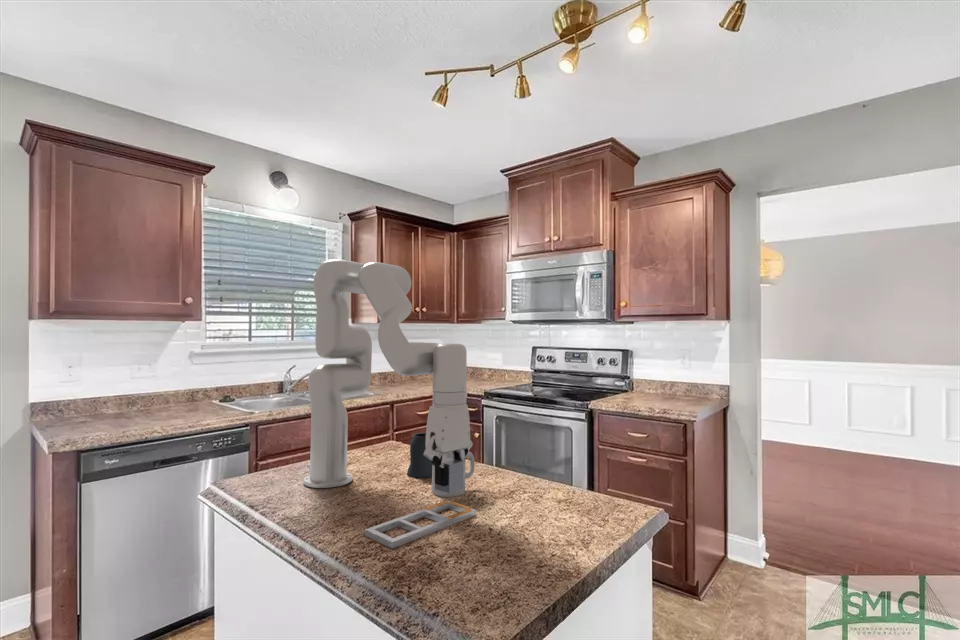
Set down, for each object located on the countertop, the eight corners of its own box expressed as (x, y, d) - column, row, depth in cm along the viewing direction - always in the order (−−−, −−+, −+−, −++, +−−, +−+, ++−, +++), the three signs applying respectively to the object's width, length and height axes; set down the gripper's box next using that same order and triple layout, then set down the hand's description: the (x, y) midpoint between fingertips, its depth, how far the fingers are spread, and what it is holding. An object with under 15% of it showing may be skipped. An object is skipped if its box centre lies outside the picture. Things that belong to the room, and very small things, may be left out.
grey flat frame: (364, 535, 93) (364, 528, 93) (447, 505, 110) (447, 499, 111) (392, 548, 88) (392, 541, 88) (475, 515, 105) (475, 508, 105)
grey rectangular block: (435, 489, 104) (435, 461, 105) (449, 484, 108) (449, 457, 108) (449, 493, 101) (449, 464, 102) (463, 488, 105) (463, 461, 105)
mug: (442, 499, 115) (443, 453, 115) (425, 490, 122) (426, 447, 122) (482, 491, 122) (483, 447, 122) (464, 482, 129) (465, 441, 129)
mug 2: (419, 480, 130) (419, 439, 130) (400, 473, 137) (401, 434, 137) (452, 472, 138) (453, 433, 139) (433, 466, 145) (434, 429, 145)
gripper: (463, 394, 114) (463, 471, 113) (409, 401, 102) (408, 487, 101) (486, 397, 109) (486, 477, 108) (433, 404, 97) (432, 495, 96)
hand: (449, 481), depth 105 cm, fingers closed on grey rectangular block, 4 cm apart
